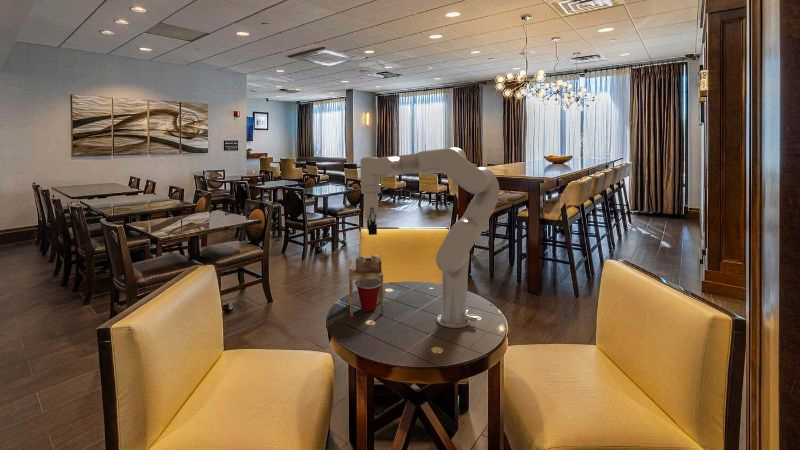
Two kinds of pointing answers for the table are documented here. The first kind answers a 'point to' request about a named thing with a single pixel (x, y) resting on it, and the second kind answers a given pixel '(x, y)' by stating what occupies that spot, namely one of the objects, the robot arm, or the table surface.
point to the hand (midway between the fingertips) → (371, 232)
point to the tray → (368, 264)
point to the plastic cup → (368, 293)
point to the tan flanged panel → (359, 276)
